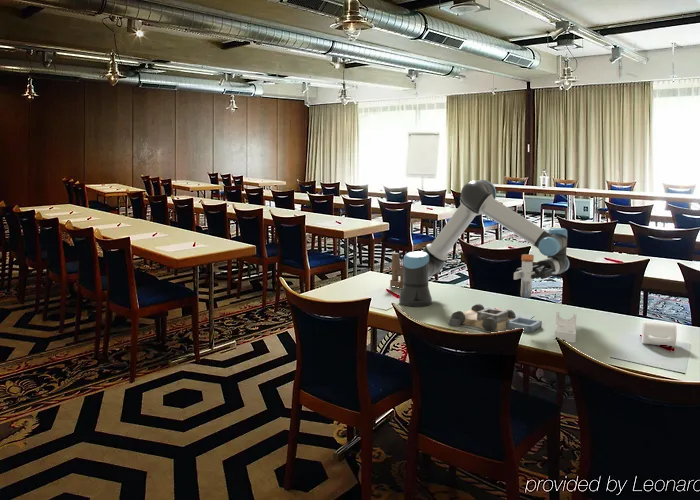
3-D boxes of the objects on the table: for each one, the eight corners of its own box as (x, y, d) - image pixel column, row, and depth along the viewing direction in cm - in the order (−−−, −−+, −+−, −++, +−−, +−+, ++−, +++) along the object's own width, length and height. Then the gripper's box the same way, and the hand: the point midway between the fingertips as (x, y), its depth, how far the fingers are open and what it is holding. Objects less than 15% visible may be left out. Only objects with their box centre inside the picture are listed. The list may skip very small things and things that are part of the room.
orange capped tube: (518, 296, 212) (519, 255, 210) (523, 294, 216) (524, 253, 213) (528, 298, 209) (530, 256, 207) (533, 296, 213) (535, 255, 210)
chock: (448, 324, 219) (448, 318, 219) (452, 323, 221) (452, 317, 220) (457, 326, 216) (457, 320, 216) (460, 325, 218) (460, 319, 218)
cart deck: (450, 322, 222) (450, 309, 221) (473, 314, 234) (473, 301, 234) (494, 332, 208) (495, 319, 207) (516, 323, 221) (517, 309, 220)
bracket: (555, 331, 211) (556, 312, 210) (575, 333, 208) (576, 313, 207) (554, 341, 199) (555, 321, 198) (575, 343, 196) (576, 323, 195)
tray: (506, 327, 214) (506, 321, 214) (517, 322, 222) (518, 316, 221) (530, 333, 208) (530, 326, 207) (541, 327, 215) (541, 321, 214)
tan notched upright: (404, 290, 280) (405, 255, 277) (389, 286, 288) (390, 253, 285) (409, 289, 283) (410, 254, 280) (394, 285, 291) (395, 252, 288)
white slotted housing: (641, 339, 199) (642, 318, 198) (672, 343, 195) (674, 321, 194) (643, 349, 189) (645, 327, 187) (676, 353, 185) (679, 331, 183)
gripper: (566, 280, 219) (541, 289, 202) (526, 274, 230) (499, 283, 214) (567, 261, 218) (542, 270, 201) (527, 257, 229) (500, 264, 213)
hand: (520, 276), depth 207 cm, fingers closed on orange capped tube, 4 cm apart
